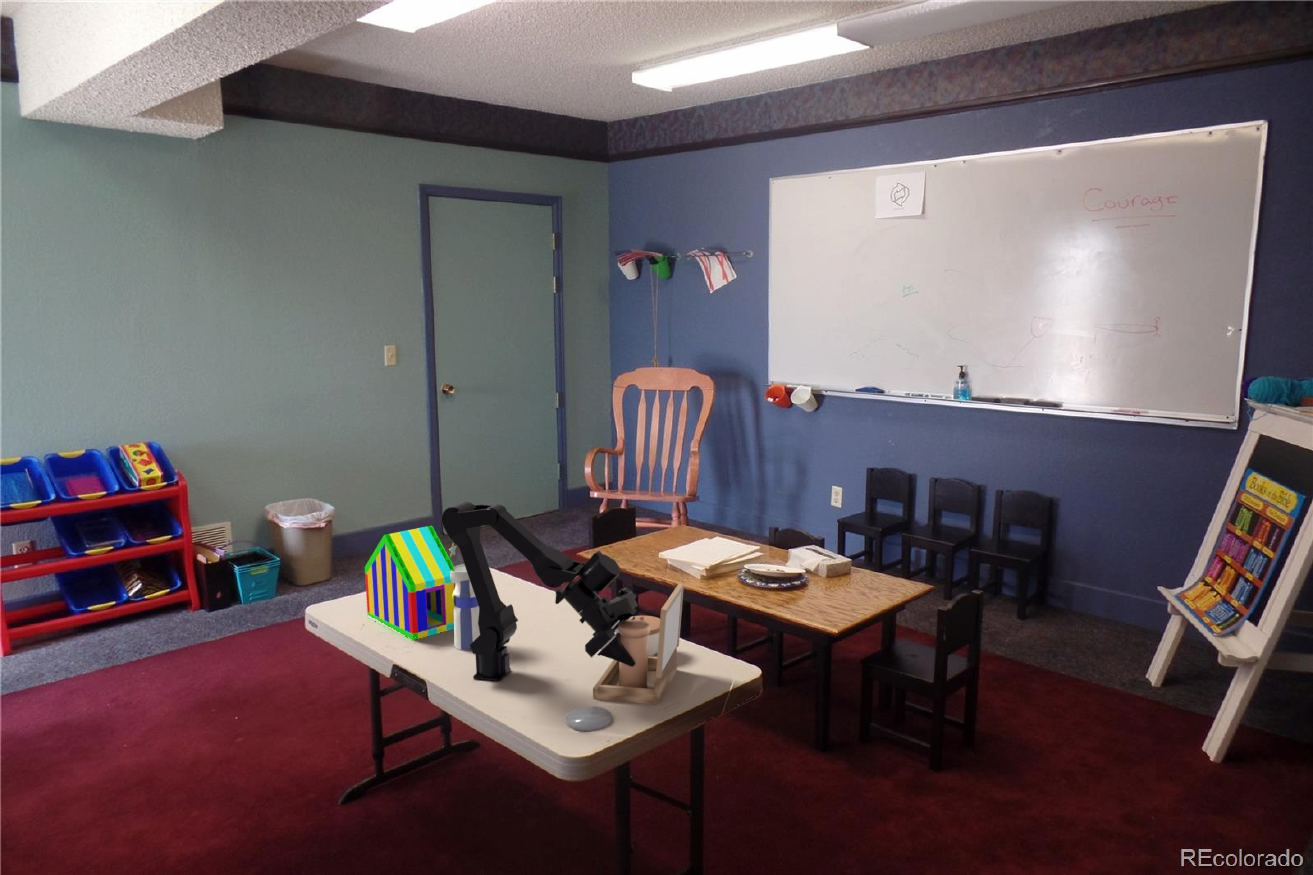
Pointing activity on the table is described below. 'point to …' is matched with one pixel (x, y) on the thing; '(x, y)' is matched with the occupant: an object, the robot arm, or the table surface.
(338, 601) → the table surface
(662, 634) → the lid
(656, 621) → the lidded jar
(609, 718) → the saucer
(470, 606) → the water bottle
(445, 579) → the toy house
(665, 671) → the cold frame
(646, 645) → the tan cylindrical canister
